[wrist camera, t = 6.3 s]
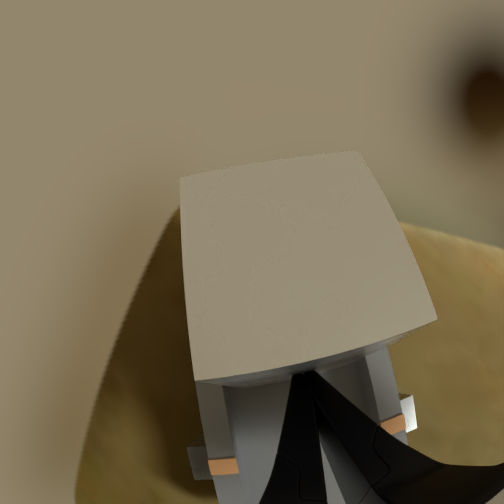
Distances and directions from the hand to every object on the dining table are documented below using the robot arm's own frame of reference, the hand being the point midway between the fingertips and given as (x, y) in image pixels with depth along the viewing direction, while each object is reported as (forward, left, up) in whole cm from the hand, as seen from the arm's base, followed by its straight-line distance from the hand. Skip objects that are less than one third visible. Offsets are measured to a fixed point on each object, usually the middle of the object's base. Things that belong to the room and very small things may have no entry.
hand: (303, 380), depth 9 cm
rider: (+2, +1, -4) cm, 5 cm away
